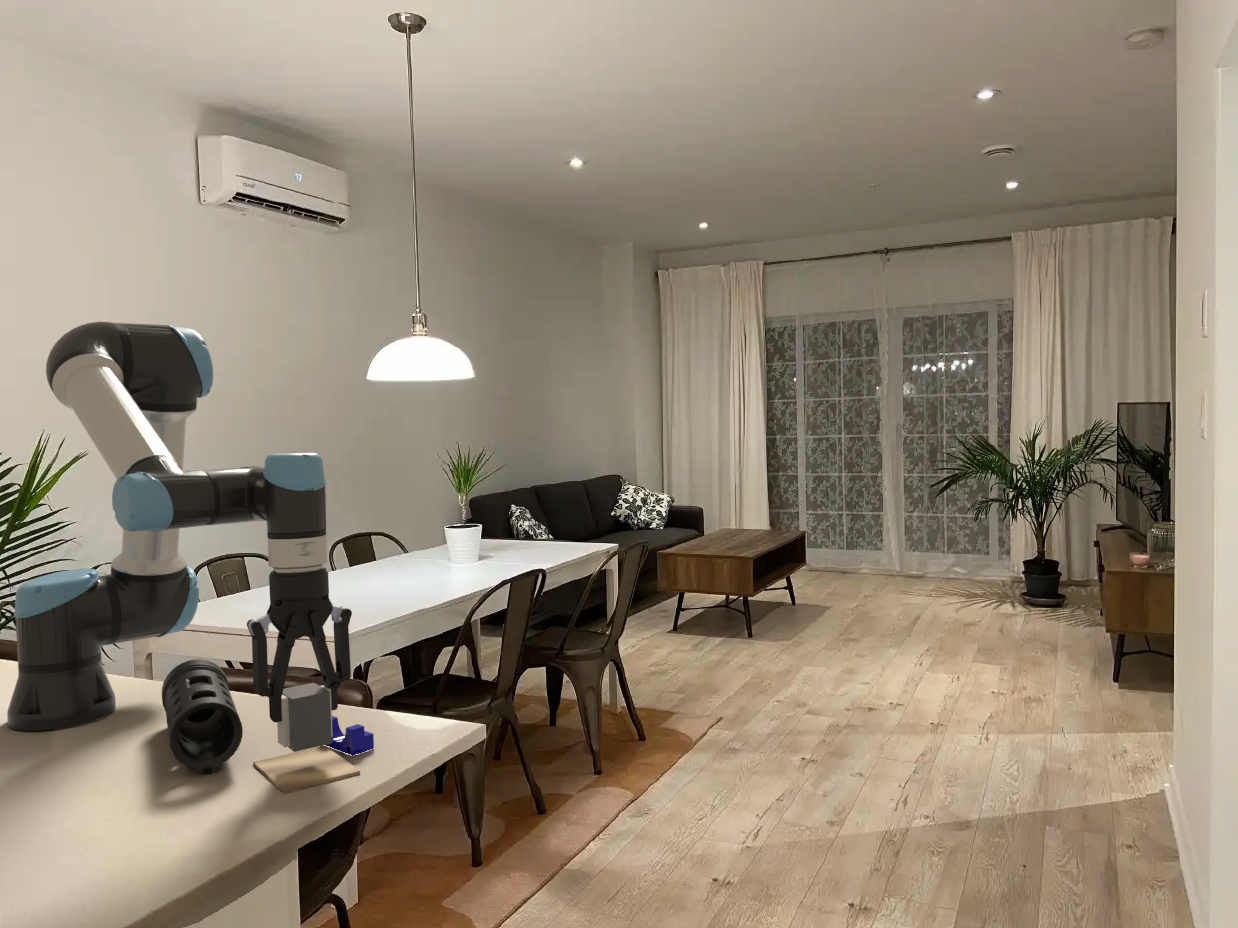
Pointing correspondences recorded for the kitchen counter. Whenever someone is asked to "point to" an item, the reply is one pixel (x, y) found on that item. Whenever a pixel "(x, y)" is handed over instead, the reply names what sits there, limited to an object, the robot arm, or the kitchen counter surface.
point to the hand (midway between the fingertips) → (305, 739)
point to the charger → (308, 716)
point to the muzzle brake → (200, 715)
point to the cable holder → (351, 738)
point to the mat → (305, 768)
